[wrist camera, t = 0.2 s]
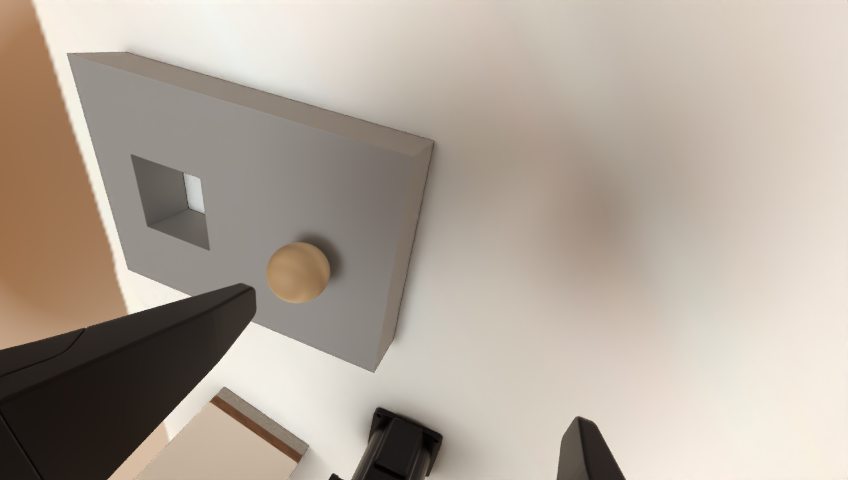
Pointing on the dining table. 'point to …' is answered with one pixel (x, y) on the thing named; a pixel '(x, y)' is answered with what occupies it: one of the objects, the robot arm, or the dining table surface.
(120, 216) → the grey flat block
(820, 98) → the dining table surface
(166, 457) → the grey striped pillar
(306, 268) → the ball
